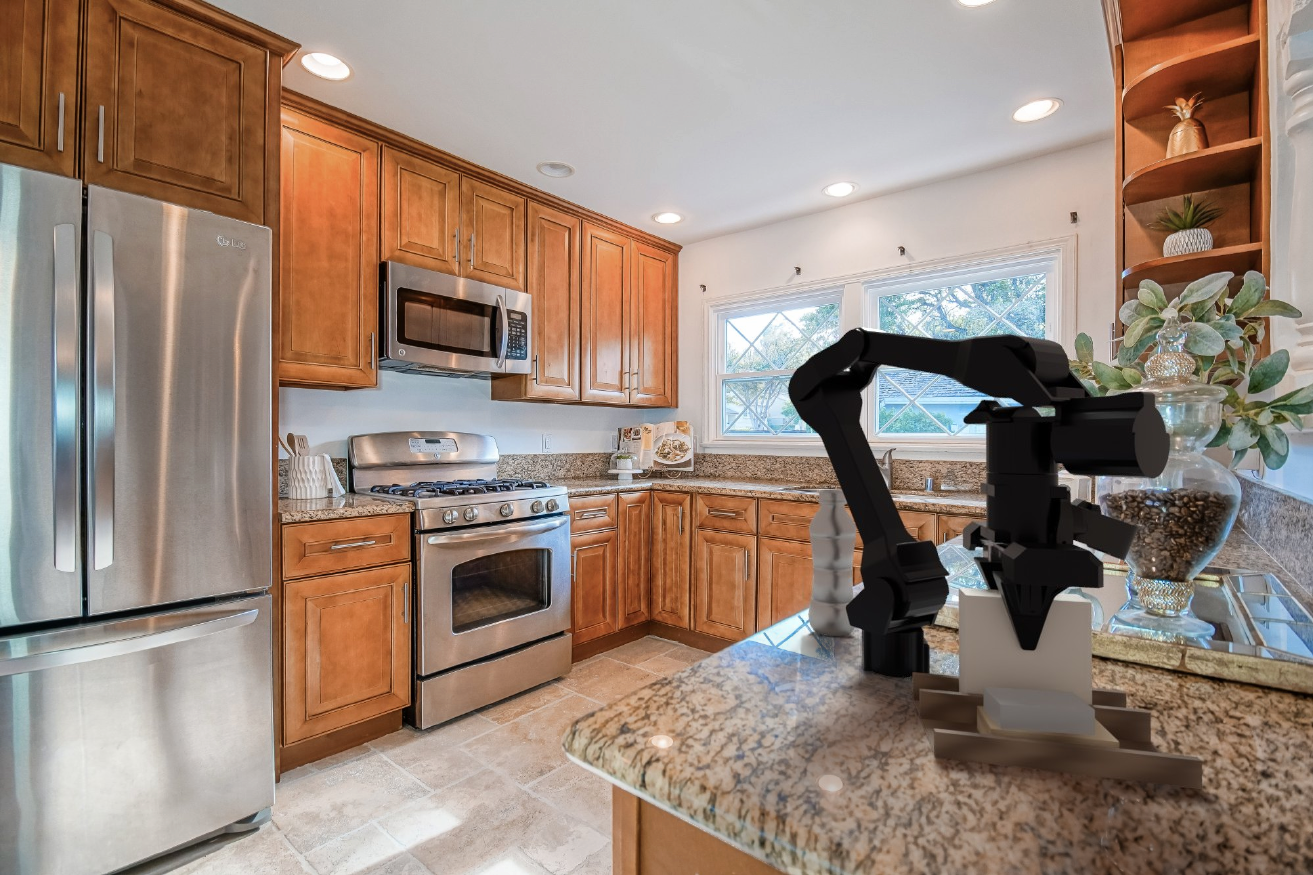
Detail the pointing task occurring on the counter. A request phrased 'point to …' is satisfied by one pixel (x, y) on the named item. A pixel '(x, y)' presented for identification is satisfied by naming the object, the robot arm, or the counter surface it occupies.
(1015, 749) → the rack
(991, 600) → the panel
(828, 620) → the plastic bottle
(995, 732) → the oak offcut
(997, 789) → the counter surface
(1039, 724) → the grey offcut
